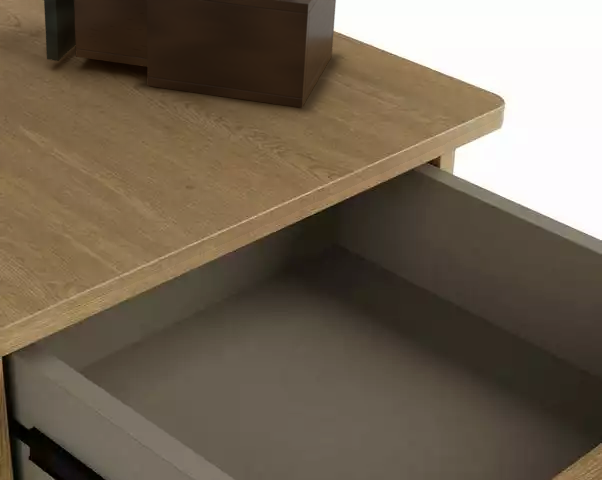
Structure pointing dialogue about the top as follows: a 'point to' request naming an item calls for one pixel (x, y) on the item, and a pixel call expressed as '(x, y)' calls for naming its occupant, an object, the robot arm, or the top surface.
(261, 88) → the brown rectangular box
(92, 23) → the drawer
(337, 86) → the top surface
